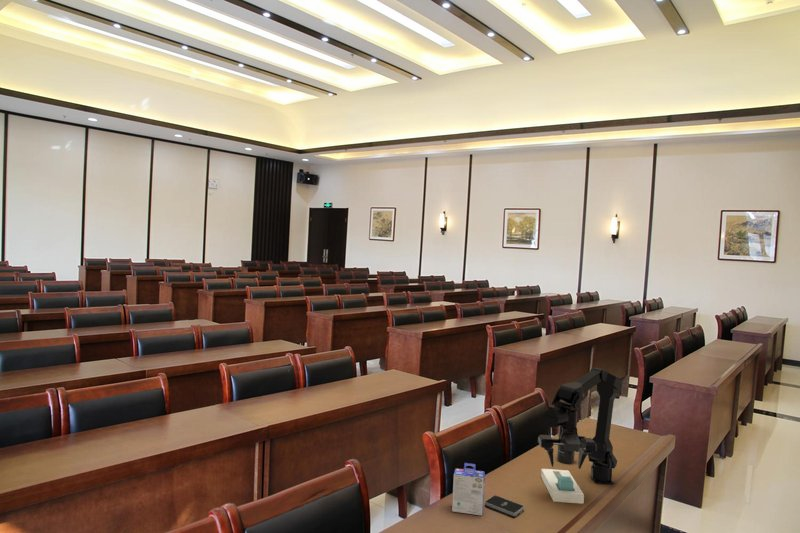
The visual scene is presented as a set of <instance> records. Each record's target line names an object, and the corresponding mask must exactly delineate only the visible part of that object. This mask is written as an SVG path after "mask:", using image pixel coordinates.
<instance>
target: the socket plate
mask: <svg viewBox="0 0 800 533" xmlns="http://www.w3.org/2000/svg"><path fill="white" fill-rule="evenodd" d="M540 471H541V472H540V477H541V479H542V481H543V484H544V486H545V487H546V489H547V492H548V493H549V495H550V498H551V499H552V502H554V503H556V502H557V503H569V504H579V505H580V504H581V505H583V504H584V502H585V500H584V499H585V494H584V493H583V491H582V490H581V488H580V486H579V484H578V483H577V482H576V480H575V479H574V477H573V476H572V473H571V472H570V471H569V470H567V469H566V470H565V469H564V470H563V469H551V468H541V470H540ZM558 476H566V477H571V479H572V481H573V491H562V490H558V488H557V484H558Z"/></svg>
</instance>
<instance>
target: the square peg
mask: <svg viewBox="0 0 800 533" xmlns="http://www.w3.org/2000/svg"><path fill="white" fill-rule="evenodd" d="M557 488H558V490H562V491H573V481H572V479H571V477H566V476H558V484H557Z"/></svg>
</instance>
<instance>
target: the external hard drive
mask: <svg viewBox="0 0 800 533" xmlns="http://www.w3.org/2000/svg"><path fill="white" fill-rule="evenodd" d="M484 507H485V508H487V509H489V508H490V509H489V510H492V511H495V512H498V513H500V514H502V515H505V516H507V517H509V518H513V519H515V518H517V517H518V516H520V514H522V513H523V512H524V511H525V506H524V505H523V504H520V503H518V502H514V501H512V500H509V499H507V498H504V497H502V496H499V495H497V494H496V495H495V494H494V495H492V496H490V497H489V498H488V499H486V500H484Z"/></svg>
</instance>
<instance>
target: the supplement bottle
mask: <svg viewBox="0 0 800 533" xmlns="http://www.w3.org/2000/svg"><path fill="white" fill-rule="evenodd" d="M575 452H576V451H566V450H565V447H564V445H557V452H556V460H557V461H558V462H560V463H563V464H566V465H571V464H574V462H575V456H576V453H575Z"/></svg>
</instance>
